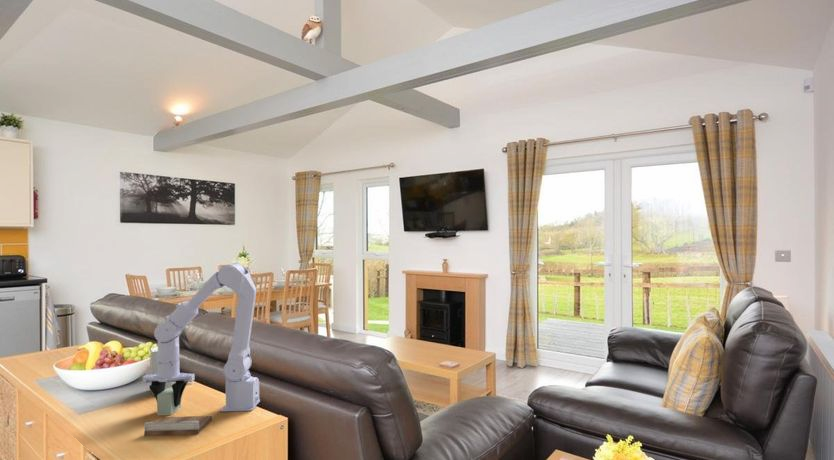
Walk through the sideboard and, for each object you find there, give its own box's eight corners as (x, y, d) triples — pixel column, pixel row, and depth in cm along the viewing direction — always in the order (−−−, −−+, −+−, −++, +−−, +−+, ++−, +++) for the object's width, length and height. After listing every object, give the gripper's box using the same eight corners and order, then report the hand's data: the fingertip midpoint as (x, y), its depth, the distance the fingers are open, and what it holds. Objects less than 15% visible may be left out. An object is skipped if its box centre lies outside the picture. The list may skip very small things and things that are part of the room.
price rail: (199, 428, 119) (199, 420, 119) (197, 429, 118) (197, 422, 118) (146, 429, 119) (146, 422, 119) (144, 431, 118) (144, 423, 118)
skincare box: (172, 392, 150) (171, 348, 150) (151, 396, 147) (151, 351, 147) (170, 385, 157) (169, 343, 157) (150, 389, 154) (149, 346, 154)
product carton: (181, 407, 137) (180, 387, 137) (171, 414, 131) (170, 394, 131) (167, 407, 137) (167, 388, 137) (156, 415, 131) (156, 395, 131)
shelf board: (212, 419, 127) (212, 415, 127) (197, 434, 118) (197, 429, 118) (162, 421, 127) (162, 417, 127) (144, 435, 118) (144, 431, 118)
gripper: (136, 365, 130) (136, 411, 130) (186, 364, 131) (187, 410, 130) (150, 358, 137) (150, 402, 137) (197, 357, 138) (198, 401, 138)
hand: (169, 405), depth 134 cm, fingers closed on product carton, 4 cm apart
